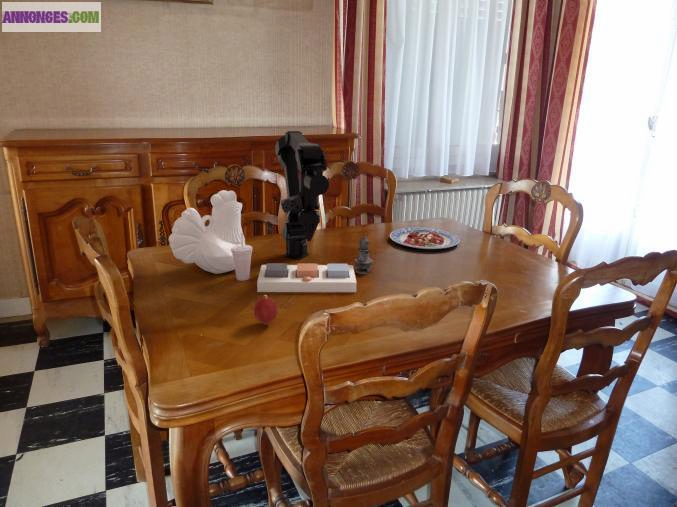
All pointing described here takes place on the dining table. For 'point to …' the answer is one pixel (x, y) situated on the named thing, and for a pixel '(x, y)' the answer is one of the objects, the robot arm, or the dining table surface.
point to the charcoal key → (276, 270)
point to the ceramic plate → (424, 238)
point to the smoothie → (242, 260)
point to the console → (306, 281)
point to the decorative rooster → (209, 234)
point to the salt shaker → (363, 257)
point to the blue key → (337, 271)
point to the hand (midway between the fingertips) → (309, 237)
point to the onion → (265, 310)
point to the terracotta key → (307, 270)
